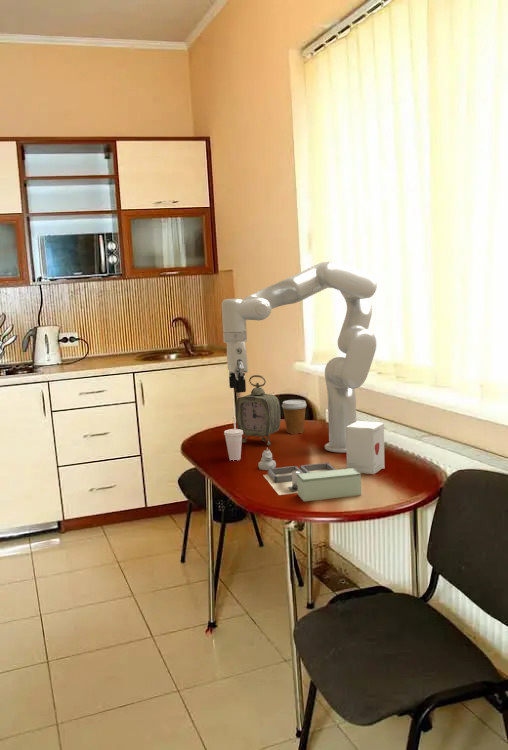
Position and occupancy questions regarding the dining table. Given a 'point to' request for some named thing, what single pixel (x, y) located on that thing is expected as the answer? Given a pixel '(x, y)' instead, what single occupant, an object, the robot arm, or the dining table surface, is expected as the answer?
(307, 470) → the socket
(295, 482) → the pin
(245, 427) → the tabletop clock
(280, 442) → the dining table surface
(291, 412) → the disposable coffee cup
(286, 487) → the board
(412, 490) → the dining table surface
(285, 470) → the socket
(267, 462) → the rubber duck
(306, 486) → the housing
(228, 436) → the smoothie
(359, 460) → the supplement box
